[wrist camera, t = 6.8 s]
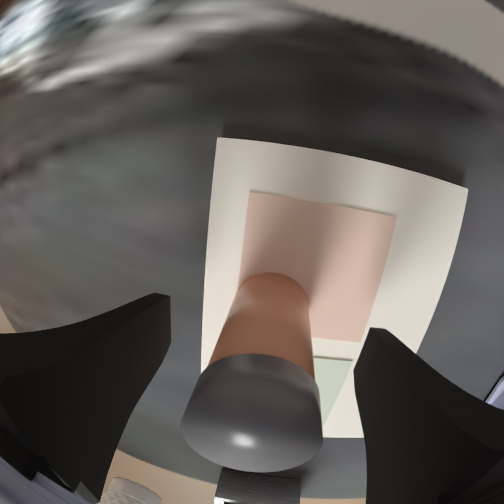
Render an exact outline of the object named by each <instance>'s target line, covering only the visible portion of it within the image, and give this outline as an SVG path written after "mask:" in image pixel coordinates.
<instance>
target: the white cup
mask: <svg viewBox="0 0 504 504" xmlns="http://www.w3.org/2000/svg"><path fill="white" fill-rule="evenodd" d="M160 502H161V498H160V497H159V496H158V495H157V494H156V493H154V492H153V491H151V490H150V489H148V488H146V487H144V486H142V485H140V484H137V483H135V482H133V481H130V480H128V479H124V478H119V477H118V478H114V479H113V480H112V482H111V484H110V485H109V487H108V489H107V491H106V492H105V493H104V494H103V496H102V497H101V499H100V502H99V503H98V504H160Z"/></svg>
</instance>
